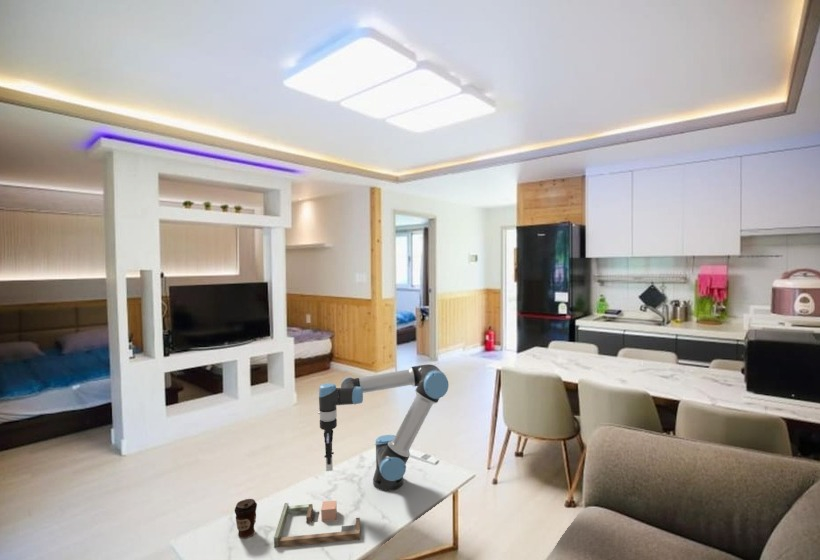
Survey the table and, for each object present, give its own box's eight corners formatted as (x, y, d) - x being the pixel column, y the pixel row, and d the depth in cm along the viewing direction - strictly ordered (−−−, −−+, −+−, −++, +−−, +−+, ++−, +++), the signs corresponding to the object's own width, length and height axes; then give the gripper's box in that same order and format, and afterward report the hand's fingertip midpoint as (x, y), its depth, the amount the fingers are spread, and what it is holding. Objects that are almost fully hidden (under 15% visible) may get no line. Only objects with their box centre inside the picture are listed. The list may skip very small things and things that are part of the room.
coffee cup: (249, 542, 163) (248, 510, 162) (230, 540, 164) (229, 508, 164) (261, 528, 171) (260, 498, 170) (243, 526, 173) (242, 496, 172)
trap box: (359, 505, 186) (359, 496, 186) (359, 539, 163) (359, 529, 163) (285, 511, 182) (284, 503, 182) (274, 547, 159) (273, 537, 159)
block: (336, 511, 182) (336, 500, 182) (335, 520, 176) (335, 508, 176) (322, 512, 181) (322, 501, 181) (321, 521, 175) (321, 509, 175)
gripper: (320, 413, 190) (322, 463, 191) (318, 424, 177) (319, 478, 178) (337, 412, 191) (338, 462, 192) (335, 423, 178) (337, 476, 179)
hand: (329, 469), depth 185 cm, fingers closed
